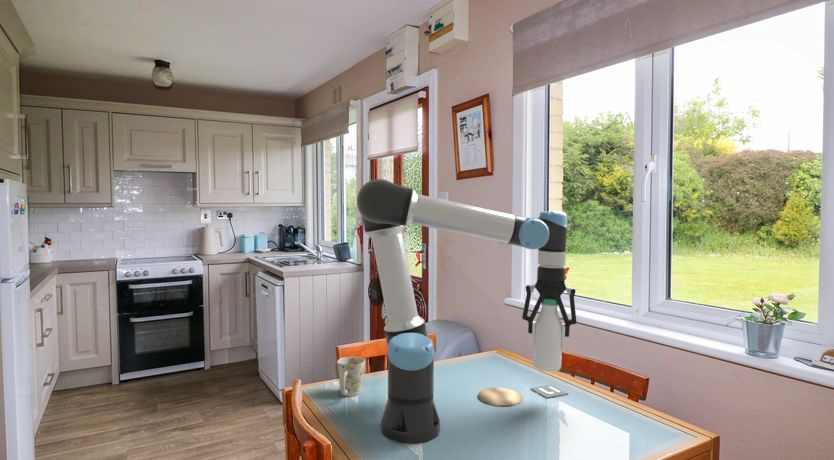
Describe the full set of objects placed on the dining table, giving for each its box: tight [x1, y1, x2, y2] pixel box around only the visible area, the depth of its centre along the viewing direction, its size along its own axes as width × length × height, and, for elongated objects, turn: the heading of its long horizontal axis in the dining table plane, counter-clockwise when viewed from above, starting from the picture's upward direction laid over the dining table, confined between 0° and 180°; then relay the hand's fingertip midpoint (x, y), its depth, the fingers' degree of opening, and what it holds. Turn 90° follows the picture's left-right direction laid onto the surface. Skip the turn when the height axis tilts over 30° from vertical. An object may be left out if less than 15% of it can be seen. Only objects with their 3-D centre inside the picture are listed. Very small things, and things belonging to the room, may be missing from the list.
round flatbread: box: [477, 387, 524, 407], centre depth 148 cm, size 13×13×1 cm
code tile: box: [530, 384, 569, 399], centre depth 153 cm, size 8×8×1 cm
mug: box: [336, 356, 366, 398], centre depth 148 cm, size 8×13×10 cm, turn 174°
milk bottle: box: [532, 298, 563, 372], centre depth 140 cm, size 8×8×20 cm
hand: (547, 346), depth 141 cm, fingers closed on milk bottle, 7 cm apart
